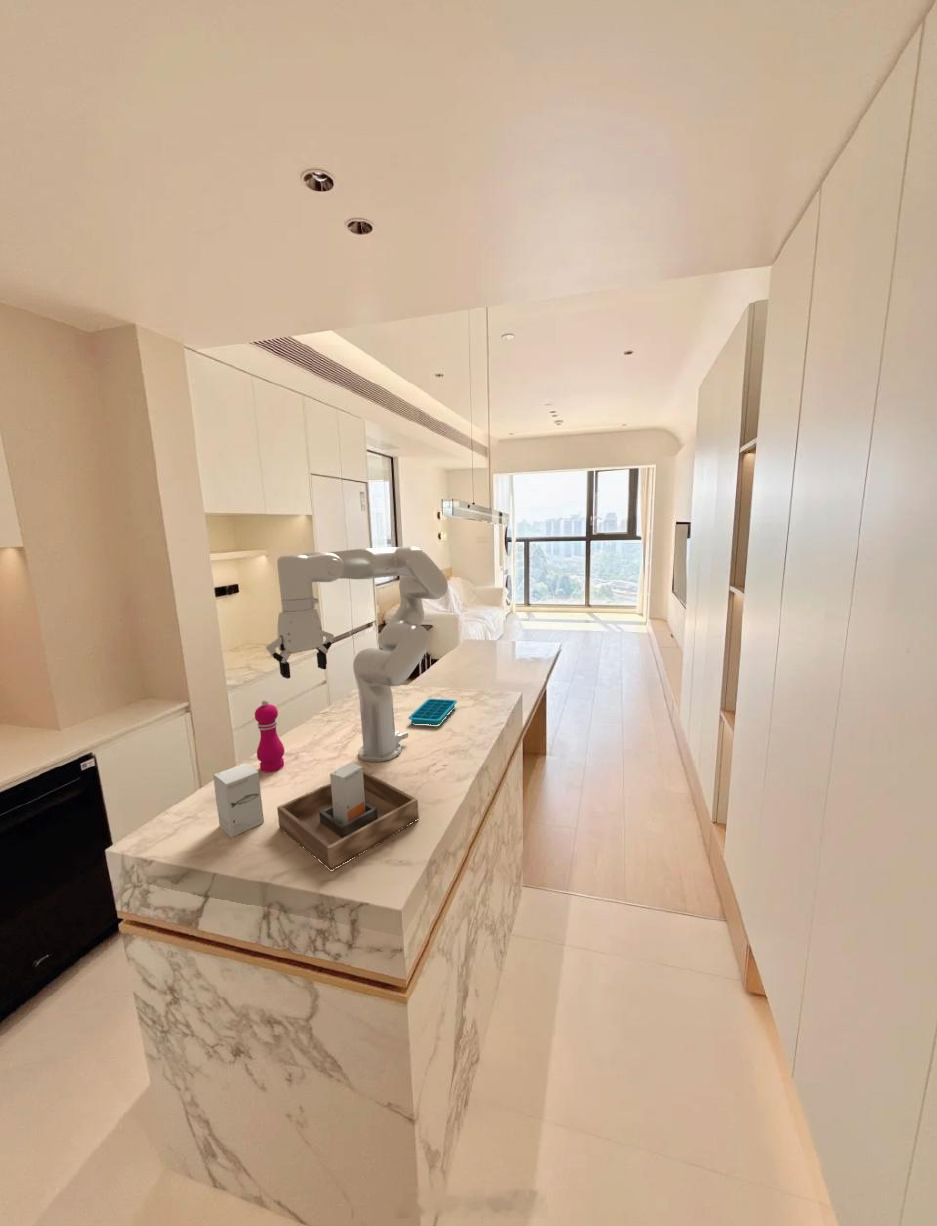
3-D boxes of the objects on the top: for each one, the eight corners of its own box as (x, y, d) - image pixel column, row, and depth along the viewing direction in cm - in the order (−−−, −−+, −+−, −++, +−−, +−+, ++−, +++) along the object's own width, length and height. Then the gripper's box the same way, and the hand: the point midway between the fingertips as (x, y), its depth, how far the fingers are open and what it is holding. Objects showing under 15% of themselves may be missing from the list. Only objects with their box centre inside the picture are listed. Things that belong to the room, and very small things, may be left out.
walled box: (362, 787, 122) (361, 769, 121) (418, 819, 107) (417, 799, 106) (279, 827, 106) (277, 806, 105) (331, 872, 91) (329, 848, 90)
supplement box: (231, 838, 103) (224, 784, 101) (218, 825, 108) (211, 773, 106) (265, 823, 108) (259, 771, 106) (251, 811, 113) (245, 761, 111)
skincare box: (346, 829, 103) (342, 778, 101) (333, 823, 105) (328, 773, 104) (367, 815, 108) (363, 766, 106) (354, 810, 110) (349, 761, 109)
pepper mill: (276, 774, 131) (268, 704, 128) (253, 772, 132) (244, 703, 129) (291, 761, 138) (283, 695, 135) (268, 760, 139) (261, 695, 136)
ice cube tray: (407, 726, 161) (407, 718, 161) (429, 705, 180) (428, 698, 180) (439, 729, 158) (439, 720, 157) (458, 707, 177) (457, 700, 176)
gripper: (322, 600, 126) (327, 663, 128) (256, 609, 113) (264, 678, 116) (337, 602, 120) (343, 667, 123) (270, 611, 108) (278, 684, 111)
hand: (304, 672), depth 120 cm, fingers open, 9 cm apart
